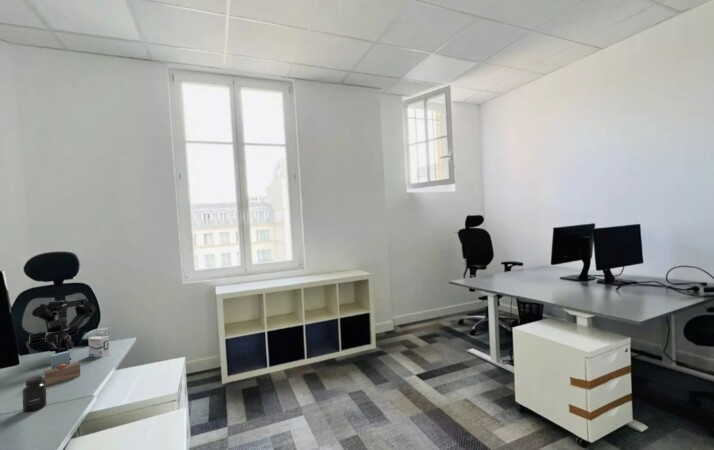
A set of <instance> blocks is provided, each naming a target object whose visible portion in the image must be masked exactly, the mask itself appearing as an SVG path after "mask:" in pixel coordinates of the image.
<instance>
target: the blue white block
mask: <svg viewBox="0 0 714 450" xmlns="http://www.w3.org/2000/svg"><path fill="white" fill-rule="evenodd" d="M70 355H71V354H70V350H69V351H65V352H61V353H57V354H55V353H54V354H53V353H52V354H51V355H50V369H54V368H58V367H59V365H61V364H66V365H69V364H71V360H70V358H71V356H70Z"/></svg>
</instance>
